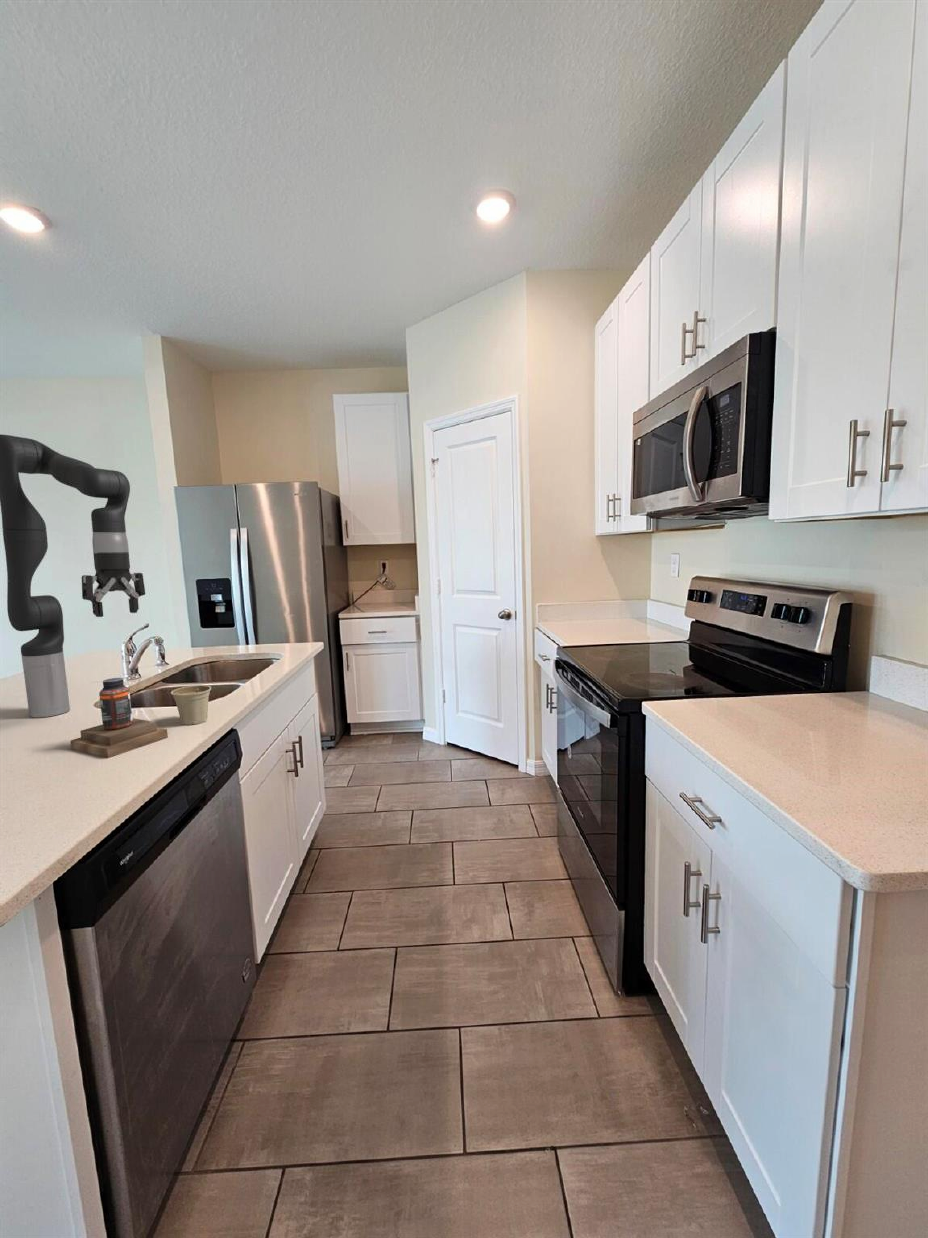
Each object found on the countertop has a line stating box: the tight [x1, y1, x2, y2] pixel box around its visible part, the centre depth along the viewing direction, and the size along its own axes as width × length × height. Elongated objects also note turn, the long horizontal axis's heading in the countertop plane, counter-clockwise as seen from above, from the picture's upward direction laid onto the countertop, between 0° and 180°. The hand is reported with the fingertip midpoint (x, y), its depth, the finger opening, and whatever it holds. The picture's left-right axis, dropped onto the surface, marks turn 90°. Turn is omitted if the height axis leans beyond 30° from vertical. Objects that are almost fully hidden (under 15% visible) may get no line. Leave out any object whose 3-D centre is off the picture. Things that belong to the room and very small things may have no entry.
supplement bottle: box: [98, 677, 133, 730], centre depth 126 cm, size 6×6×11 cm
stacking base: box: [70, 717, 169, 759], centre depth 127 cm, size 14×14×4 cm
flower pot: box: [170, 684, 212, 726], centre depth 142 cm, size 9×9×9 cm
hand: (116, 614), depth 138 cm, fingers open, 8 cm apart
